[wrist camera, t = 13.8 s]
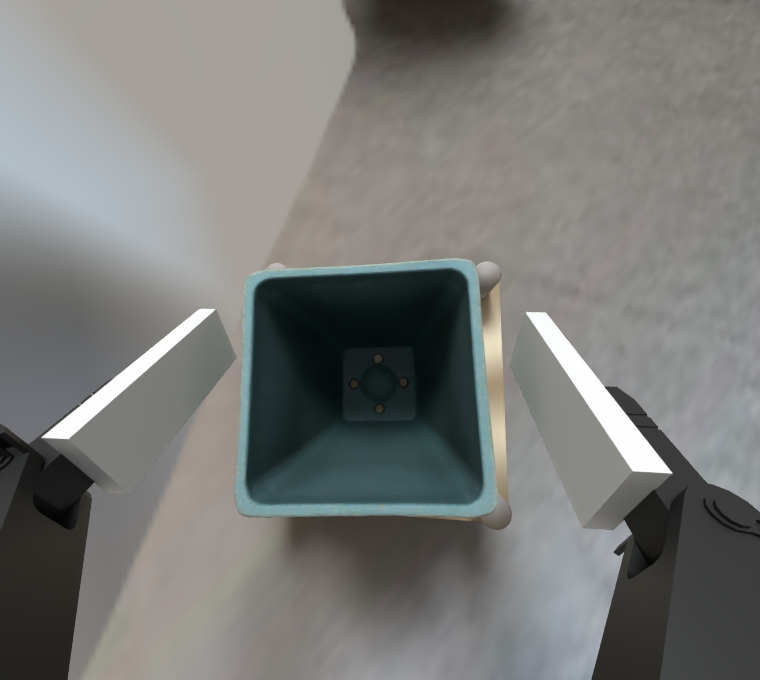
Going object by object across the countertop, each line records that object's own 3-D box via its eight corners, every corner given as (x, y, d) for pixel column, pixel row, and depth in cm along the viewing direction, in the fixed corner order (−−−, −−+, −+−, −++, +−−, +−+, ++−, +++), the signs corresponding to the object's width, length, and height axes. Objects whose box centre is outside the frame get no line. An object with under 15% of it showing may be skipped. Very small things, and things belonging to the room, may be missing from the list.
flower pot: (452, 453, 17) (503, 521, 9) (314, 455, 18) (229, 520, 9) (443, 316, 19) (477, 255, 10) (315, 322, 20) (243, 270, 11)
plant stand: (302, 295, 26) (255, 252, 18) (476, 296, 25) (512, 250, 17) (287, 476, 24) (225, 524, 16) (481, 488, 22) (527, 547, 14)
